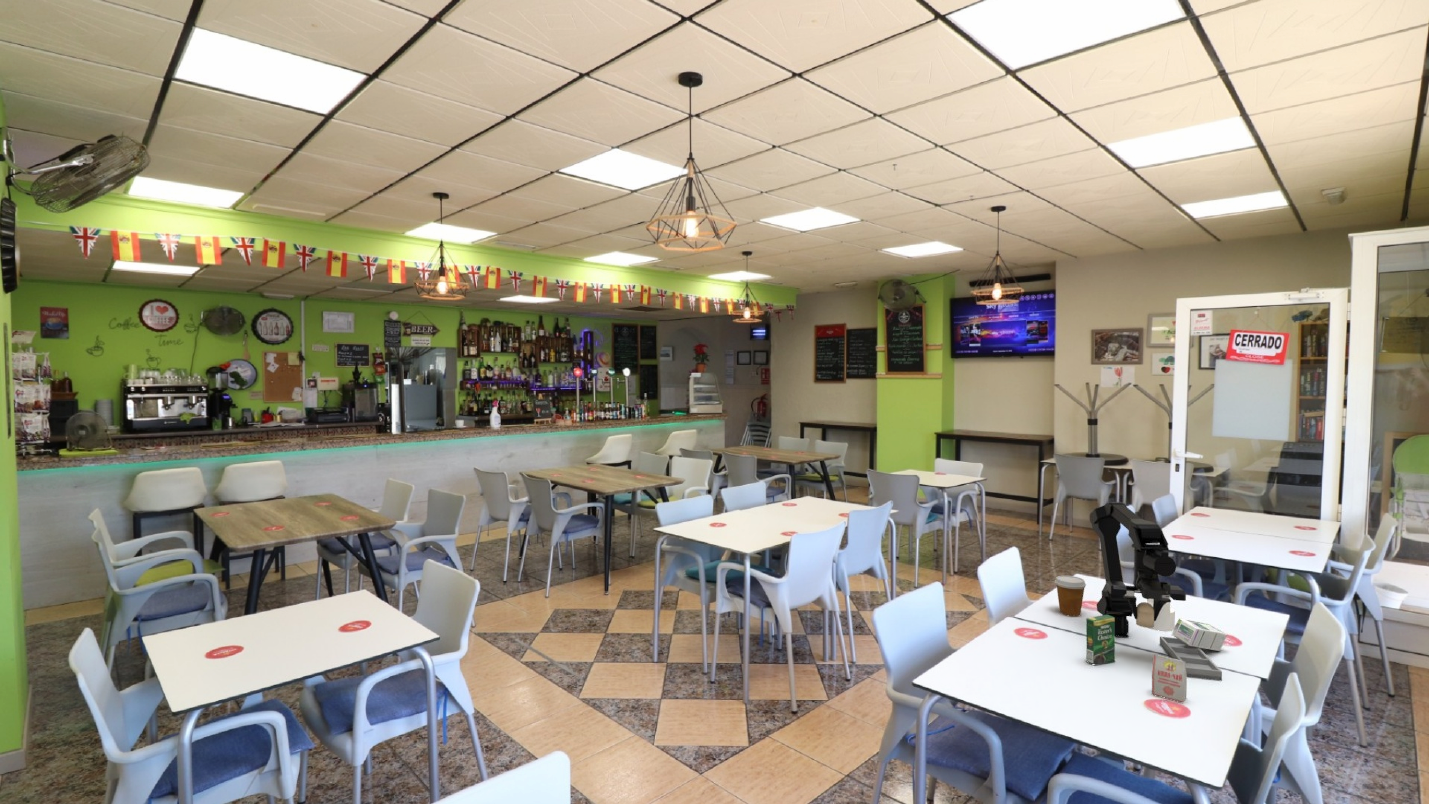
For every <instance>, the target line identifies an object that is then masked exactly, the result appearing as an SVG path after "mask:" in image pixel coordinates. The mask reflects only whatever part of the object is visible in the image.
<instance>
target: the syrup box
mask: <svg viewBox="0 0 1429 804" xmlns="http://www.w3.org/2000/svg"><path fill="white" fill-rule="evenodd" d="M1171 635H1172V636H1173V638H1178V639H1179V640H1181V641H1182V642H1184V643H1186V644H1188V645H1189V646H1194V647H1199V648H1200V649H1205V650H1212V651H1218V652H1220V651H1221V649H1222V648H1223V645H1224V643H1225V641H1226V639H1227V637H1228V634H1227V633H1226V632H1224V631H1222V630H1220V629H1219V628H1217V627H1215V626H1213V625H1211V624H1208V623H1204V622H1199V621H1195V620H1194V621H1193V620H1190V619H1184V618H1178V621H1177V622H1176V623H1175V628H1174V630H1173V631H1172V633H1171Z"/></svg>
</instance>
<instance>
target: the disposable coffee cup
mask: <svg viewBox="0 0 1429 804" xmlns="http://www.w3.org/2000/svg"><path fill="white" fill-rule="evenodd" d="M1054 583H1055V586H1056V591H1057V600H1058V605H1059V613H1060V612H1061V613H1062V614H1061V613H1060V614H1061V615H1063V616H1067V615H1069V616H1068V617H1079V615H1080V616H1081V614H1082V606H1083V601H1084V592H1085V588H1086V586H1087V584H1086V581H1085V580H1084V579H1083V578H1081V577H1078V576H1073V575H1059V576H1056V577H1055V580H1054Z"/></svg>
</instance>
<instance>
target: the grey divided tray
mask: <svg viewBox="0 0 1429 804" xmlns="http://www.w3.org/2000/svg"><path fill="white" fill-rule="evenodd" d="M1159 645H1160V647H1161V648H1162V649H1163V651H1164V652H1166V654H1167V655H1168V657H1169V658H1172V659H1177V660H1181V661H1185V663H1186V674H1187V678H1194V679H1202V680H1203V679H1204V680H1205V679H1206V680H1211V679H1213V680H1212V681H1219V680H1221V681H1222V680H1223V678H1222V677H1223V671H1222V670H1221V669H1220V668H1219V667H1218V665H1216V664H1215V663H1214V661H1212V660H1211V659H1210V657H1209V656H1208V655H1207V654H1206V653H1205V652H1204V650H1202V648H1200V647H1194V646H1189V645H1188V644H1186V643H1184V642H1182V641H1181V640H1179V639H1178V638H1176V637H1170V636H1161V635H1160V636H1159Z"/></svg>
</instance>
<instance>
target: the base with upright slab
mask: <svg viewBox="0 0 1429 804" xmlns="http://www.w3.org/2000/svg"><path fill="white" fill-rule="evenodd" d="M1169 599H1170V600H1171V597H1169ZM1153 600H1154V599H1146V603H1149V604H1150V605H1152V607H1153ZM1175 620H1176V610H1175V609H1174V608H1172V607H1171V602H1167V603H1166V604H1164V606H1163V607H1162V609H1161V611H1160V613H1159V615H1158V617H1157V619H1156V621H1154V627H1153V628H1148V629H1150V630H1154V631H1158V630H1159V631H1158V632H1173V631H1174V628H1175V626H1176V621H1175Z"/></svg>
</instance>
